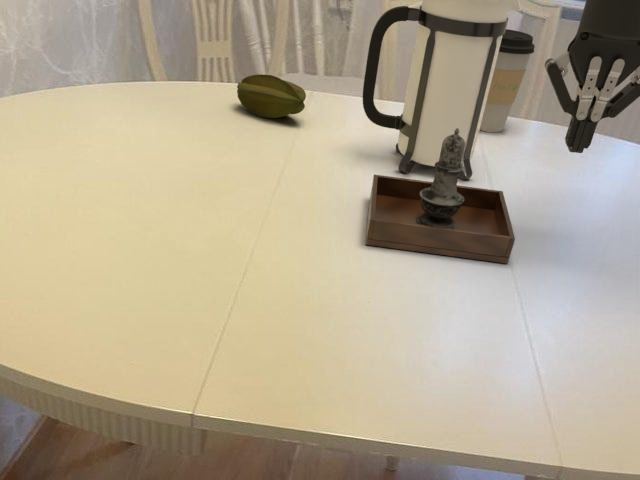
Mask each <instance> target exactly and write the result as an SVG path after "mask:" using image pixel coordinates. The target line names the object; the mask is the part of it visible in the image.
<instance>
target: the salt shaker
mask: <svg viewBox="0 0 640 480" xmlns="http://www.w3.org/2000/svg"><path fill="white" fill-rule="evenodd" d="M454 132H455V133H454V134H452V135H450V136H448V137H446V138H445V139H444V140H443V143H442V148H441V153H440V157H439V162H436V163H435V166H434V167H435V173H434V178H433V181H432V182H433V183H432V185H431V187H430V188H425V189H423V190H421V191H420V197H421V206H422V209H423V210H424V212H425V213H424V214H422V215H420V216H418V217H417V220H416V221H417V223H418V224H420V225H428V226H436V227H443V228H451V229H454V228H455V227H456V223H455V222H454V220H452V219H451V218H450V217H452V216H453V215H455V214H456V213H457V211H458V210H459V208H460V206H461V204H463V202H464V197H463V196H462V195H461V194H459V193H458V192H457V185H458V181H459V172H460V171H462V170H463V171H464V168H463V165H461V161H462V157H463V153H464V148H465V141H464V139H463V138H462V137H460V136H459V135H458V133H459V130H458V128H457V129H456V130H455V131H454Z"/></svg>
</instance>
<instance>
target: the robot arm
mask: <svg viewBox="0 0 640 480" xmlns="http://www.w3.org/2000/svg"><path fill="white" fill-rule="evenodd" d="M569 64H570V66H571V70H572V72H573V75H574V77H575V80H576V82H577V87H576V93H575V100H574V99H572V98H571V95H570V92H569V90H568V88H567V85H566V83H565V80H564V78H565V77H566V76H567V74H568V71H569V69H568V65H569ZM544 68H545V71H546V73H547V76H548V78H549V81H550V83H551V85H552V88H553V90H554V93H555V95H556V98H557V100H558V103H559V105H560V107H561V109H562V111H563V112H564V113H565V114H566V113H567V114H568V115H571V117H570V121H569V125H568V127H567V131H566V135H565V136H564V142H565V145H566V147H567V150H568V152H569V153H576V154H583V153H584V150H585V149H588V148H590V146H591V143H592V141H593V139H594V135H595V132H596V129H597V126H598V123H599V122H600V121H602V119H606V118H610V119H613V118H616V117H618V115H620V114H621V113H622V112H623V111H624V110H626V109H627V108H628V107H629V106H630V105H632V104H633V103H634V102H635V101H636V100H637V99H639V98H640V0H585V4H584V7H583V10H582V13H581V17H580V20H579V24H578V28H577V30H576V33H575V36H574V38H573V39H572V40H571V41H570V43H569V44H568V46H567V49H566V51H565V52H564V53H561V55H558V56H557V57H555V58H548V59H547V60H546V61H545V62H544ZM631 74H632V75H631ZM628 77H630V82H628V83H627V84H626V85H625V86H624V87H622V89H620V90H619V91H618V92H617V93H615V95H614V96H612V95H613V93H614V90H615V89H616V88H617V87H619V86H620V85H621V84H622V83H624V81H625V80H626V79H627V78H628Z"/></svg>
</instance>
